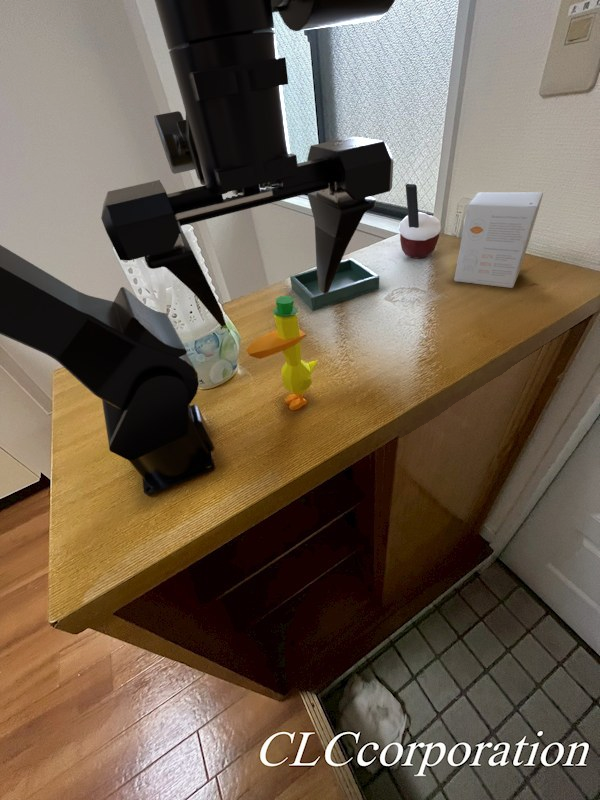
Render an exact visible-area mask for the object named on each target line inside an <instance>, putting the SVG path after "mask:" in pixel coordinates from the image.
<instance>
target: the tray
mask: <svg viewBox="0 0 600 800" xmlns="http://www.w3.org/2000/svg"><path fill="white" fill-rule="evenodd" d="M289 280H290V286H291V290H292V291H293V292H294V293H295V294H296V295H297V296H298V297H299V298H300V299H301V300H302V301H303V303H305V305H307V307H308V308H309V309H310V310H311V312H314V311H317V310H319V309H323V308H326V307H329V306H333V305H336V304H339V303H341V302H344V301H347V300H350V299H353V298H357V297H360V296H362V295H366V294H368V293H372V292H375V291H378V290H380V275H378V274H377V273H375V272H374V271H373V270H371V269H369V267H366V266H365V265H363V264H362V263H361V262H359V261H357V260H356V259H354V258H353V257H350V258H347V259H342V260H341V262H340V265H339V267H338V270H337V272H336V275H335V277H334V280H333V282H332V285H331V287H330V290H329V292H328V293H325V294H324V293H323V292H322V291H321V290H320V289H319V283H318V277H317V268H314V269H310V270H307V271H303V272H301V273H298V274H294V275H290V276H289Z"/></svg>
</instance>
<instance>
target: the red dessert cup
mask: <svg viewBox="0 0 600 800" xmlns="http://www.w3.org/2000/svg"><path fill="white" fill-rule="evenodd" d="M404 187H405V197H406V207H407V208H406V209H407V210H406V211H407V215H406V216H405V217H403V219H402V220H401V221H400V222H399V226H398V232H399V241H400V246H401V250H402V251H403V254H404V255H406V256H407V257H409V258H410V259H412V258H413V259H423V258H426V257H427V256H430V254H432V253H433V252H434V251H435V248H436V246H437V244H438V241H439V239H440V233H441V230H442V224H441V222H440V221H439V219H438V218H437V217H436V216H434V215H431V214H428V213H426V212H421V211H419V204H418V201H419V200H418V186H417V185H416V184H415V183H406V184H405V186H404Z"/></svg>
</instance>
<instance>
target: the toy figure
mask: <svg viewBox="0 0 600 800" xmlns="http://www.w3.org/2000/svg"><path fill="white" fill-rule="evenodd" d="M294 302H295V299H294V297H293V296H290V295H280V296H278V297H276V298H275V303H276V306H275V307H274V308H273V309H272V313H273V316H274V322H275V328H276V329H274V330H272V331H269V332H268V333H265V334H263V335H262V336H259V337H258V338H257V339H255V340H253V341H251V344H250V345H248V347H247V348H246V353H247V354H248V356H249V357H253V358H254V359H255V358H256V359H259V360H261V359H265V358H268V357H271V356H273V355H276V354H278V353H281V352H282V354H283V356H284V359H285V363H284V364H283V366H282V367H281V369H280V370H281V379H282V383H283V387H284V389H285V390H286V391H288V392H290V394H288V395H287V396H286V398H285V399H284V402H285V403H286V406H288V408H289V409H290V411H295V410H299V409H300V408H302V407H303V406H305V405H306V404H308V401H307V399H305V398H304V394H305V393H306V392H307V391H308V390H309V388H310V387H311V385H313V382H312V373H313V371H314V369H315V368H316V365H317V363H318V361H319V359H316V360H312V361H309V362H306V361H305V360H303V359H302V342H301V341H302V340H303V339H304V338H306V337H307V334H306V333H305V332H304V331H303V330H302V329H301V328H300V325H299V320H298V307H296V306H294Z"/></svg>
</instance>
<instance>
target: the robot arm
mask: <svg viewBox="0 0 600 800" xmlns="http://www.w3.org/2000/svg"><path fill="white" fill-rule="evenodd" d="M395 1H396V0H154V3H155V6H156V11H157V14H158V17H159V22H160V25H161V28H162V32H163V36H164V39H165V43H166V47H167V49H168V54H169V57H170V61H171V64H172V68H173V71H174V75H175V79H176V83H177V86H178V89H179V93H180V97H181V100H182V104H183V108H184V112H185V119H184V117H183V114H182V113H181V112H180V111H179V110H177V111H172V112H166V113H160V114H156V115H154V123H155V126H156V130H157V133H158V135H159V138H160V142H161V145H162V148H163V151H164V154H165V156H166V160H167V162H168V165H169V168H170V170H171V173H172V174H174V175H176V174H181V173H185V172H190V171H193V170H195V174H196V178H197V180H198V181H199V182H200V185H201V186H196V187H192V188H188V189H184V190H179V191H175V192H170V193H167V191H166V189H165V187H164V186H163V185H164V184H163V183H162V182H161V180H160V179H157V180H152V181H148V182H143V183H139V184H136V185H131V186H126V187H121V188H117V189H113V190H109V191H107V192H106V194H105V195H106V196H105V199H104V201H103V205H102V211H101V217H100V219H101V222H102V225H103V227H104V229H105V232H106V234H107V237H108V238H109V240H110V242H111V245H112V247H113V249H114V250H115V253H116V255H117V256H118V259H119V260H120V261H129V262H130V261H133V260H138V259H140V258H144V261H145V264H146V266H147V267H148V268H149V269H152V270H155V269H160V268H166V269H167V270H168V271H169V272H170V273H171V274H173V275H174V277H176V278H177V280H179V281H180V282H181V283H182V284H183V285H184V286H185V287H186V288H187V289H188V290H190V291H191V292H192V293H193V294H194V296H195V297H196V298H197V299H198V300H199V301H200V303H202V305H203V306H204V307H205V309H206V310H207V311H208V312H209V313H210V315H211V316H212V317H213V318H214V319H215V321H216V322H217V323H218V324H219V325H220V327H225V326H226V325H227V324H226V320H225V317H224V313H223V311H222V308H221V306H220V304H219V302H218V300H217V298H216V296H215V294H214V292H213V290H212V287H211V286H210V283H209V281H208V280H207V277H206V276H205V274H204V272H203V269H202V267H201V266H200V264H199V261H198V259H197V257H196V255H195V253H194V251H193V249H192V247H191V245H190V242H189V241H188V239H187V237H186V235H185V232H184V231H183V229H182V226H186V225H189V224H195V223H198V222H202V221H206V220H211V219H214V218H217V217H221V216H226V215H229V214H233V213H238V212H241V211H245V210H249V209H254V208H257V207H260V206H265V205H270V204H273V203H276V202H280V201H285V200H288V199H292V198H296V197H300V196H304V195H307V197H308V198H307V199H308V202H309V205H310V209H311V213H312V216H313V221H314V239H315V240H314V241H315V242H314V243H315V258H316V259H315V262H316V264H315V265H316V269H317V277H318V283H319V289H320V290H321V291H322V292H323V293H324V294H325V293H328V292H329V290H330V287H331V285H332V282H333V280H334V277H335V275H336V272H337V270H338V267H339V265H340V262H341V261H343V257H344V255H345V253H346V250H347V248H348V246H349V244H350V242H351V240H352V238H353V236H354V235H355V233H356V231H357V229H358V226H359V225H360V223H361V221H362V219H363V217H364V215H365V213H366V212H369V211H370V210H374V209H375V207H376V202H377V201H376V198H375V197H374V196H377V195H381V194H385V193H389V192H390V191H391V190H392V189H393V179H394V178H393V177H394V158H393V156H392V153H391V151H390V149H389V147H388V145H387V143H386V141H385V140H380V139H373V138H368V137H367V138H366V137H360V136H353V135H352V136H347V137H343V138H339V139H333V140H329V141H325V142H321V143H317V144H311V145H310V147H309V151H308V155H307V157H306V158H307V159H306V160H305V161H303V162H298V158H297V154H294V153H291V151H290V144H289V136H288V135H289V134H288V128H287V127H288V126H287V120H286V111H285V103H284V96H283V95H284V94H283V86H285V85H288V84H289V77H288V69H287V58H286V57H279V53H278V46H277V38H276V32H275V31H276V29H275V21H274V13H278V14H279V17H280V18H281V20H282V21H283V23H284V25H285V26H286V27H287V28H288V29H289V30H290V31H293V32H302V31H308V30H314V29H321V28H329V27H336V26H337V27H338V26H342V25H349V24H358V23H363V22H371V21H376V20H380V19H382V17H383V16H385V15H386V14H387V13H388V12H389V10H390V9H391V8H392V7H393V5H394V4H395ZM276 185H278V186H276ZM275 186H276V187H275ZM229 192H231V193H232V196H231V197H225V198H224V196H223V195H225V194H228V193H229ZM0 335H1V336H3V337H6V338H8V339H10V340H12V341H15V342H17V343H20V344H22V345H24V346H26V347H29V348H31V349H32V350H36V351H37V352H41V353H43V354H44V355H47V356H48V357H50V358H52V359H53V360H55V361H56V362H58V363H59V364H60V365H61V366H62V367H63V368H64V369H65V370H66V371H67V372H68V373H70V374H71V375H72V376H73V377H74V378H75V379H76V380H77V381H79V382H80V383H81V384H82V385H83V386H84V387H85V388H87V390H89V392H91V394H93V395H94V396H95V397H97V398H98V399H101V402H102V409H103V415H104V423H105V430H106V435H107V441H108V442H107V443H108V448H109V451H110V452H111V453H113V454H115V455H117V456H119V457H121V458H123V459H125V460H127V461H128V462H129V463H130V464H131V465H132V466H133V468H134V469H135V470H136V471H137V473H138V474H139V475H140V476H141V478H142V487H143V494H144V495H145V496H146V497H152V496H155V495H158V494H161V493H163V492H165V491H167V490H170V489H173V488H175V487H178V486H180V485H182V484H183V485H184V484H185V483H188V482H190V481H193V480H195V479H198V478H200V477H202V476H205V475H208V474H210V473H212V472H213V471H215V469H216V464H215V460H214V456H213V453H212V452H214V450H215V445H214V441H213V437H212V434H211V430H210V428H209V426H208V424H207V423H206V420H205V418H204V416H203V413H202V411H201V410H200V408H199V405H198V404H197V405H196V404H191V403H192V402H193V400H194V399H195V397H196V395H197V393H198V389H199V386H200V383H199V375H198V372H197V370H196V368H195V366H194V364H193V362H192V361H191V359H190V357H189V354H188V351H187V349H186V347H185V345H184V343H183V341H182V339H181V337H180V336H179V334H178V332H177V330H176V328H175V326H174V324H173V323H172V321H171V319H170V317H169V315H168V314H167V313H165V312H161V311H158V310H155V309H152V308H151V307H149V306H147V305H146V304H144V303H143V302H142V301H141V300H140V299H139V298H138V297H137V296H135V295H134V294H133V293H132V292H131V291H130V290H128V289H127V288H126V287H124V286H122V287H119V290H118V292H117V294H116V296H115V298H114V301H113V300H109V299H104V298H100V297H96V296H92V295H89V294H86V293H84V292H81V291H79V290H77V289H75V288H73V287H72V286H70V285H69V284H67V283H65V282H63V281H61V280H60V279H59V278H57V277H55V276H54V275H52V274H50V273H48V272H47V271H45V270H43V269H42V268H40V267H39V266H37V265H35V264H33V262H32V263H31V262H30V261H28V260H26V259H25V258H23V257H21V256H20V255H18V254H16V253H15V252H13V251H12V250H10V249H8V248H7V247H5V246H3V245H1V244H0Z"/></svg>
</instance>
